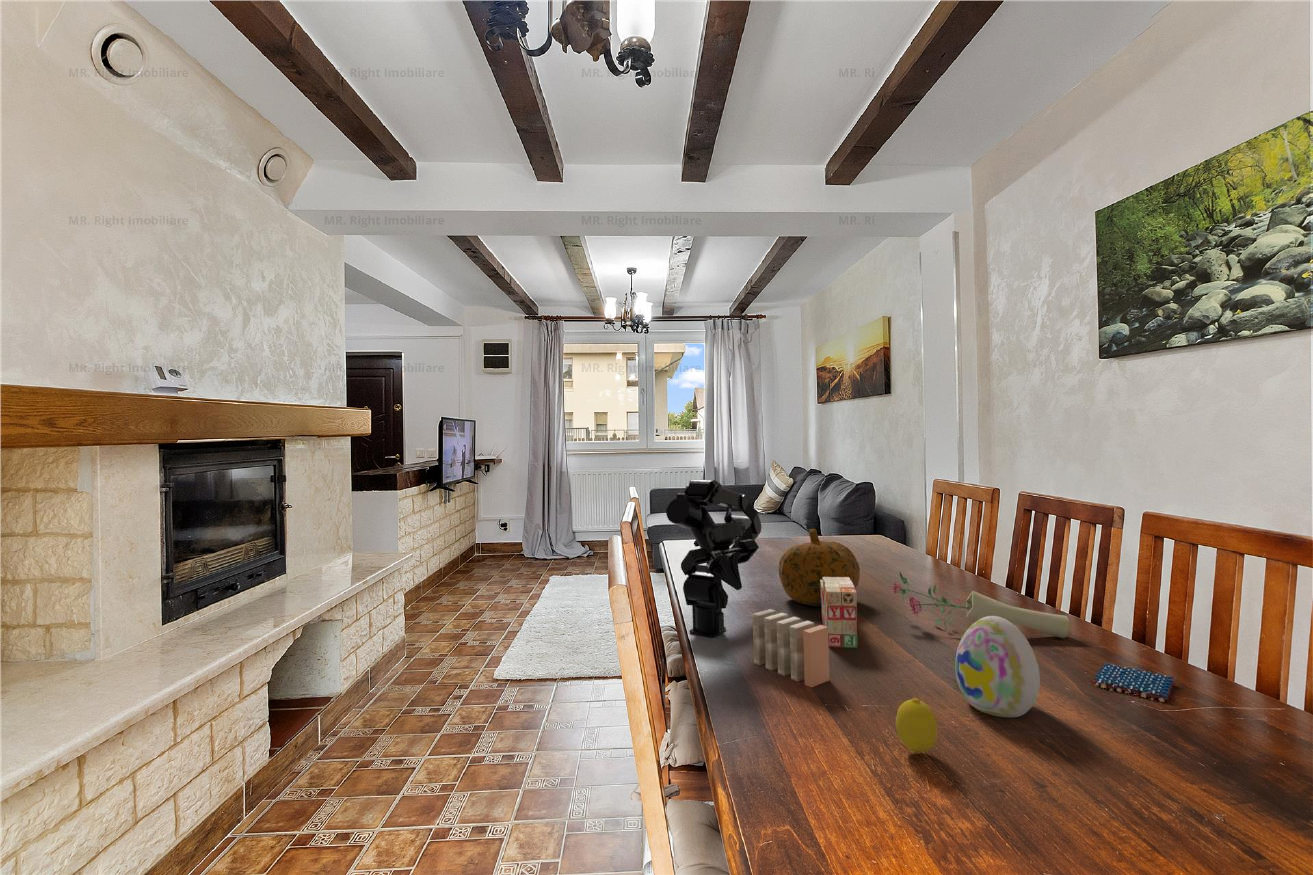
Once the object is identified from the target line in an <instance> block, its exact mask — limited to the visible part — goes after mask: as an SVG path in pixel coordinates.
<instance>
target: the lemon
mask: <svg viewBox="0 0 1313 875" xmlns="http://www.w3.org/2000/svg"><path fill="white" fill-rule="evenodd" d="M895 730H896V733H897V737H898V739H899V740H900V742H901V743H902V744H903V745H904V746H905V747H906V748H908V749H909V750H911V751H912V752H913V753H914V754H916V755H920V754H921V753H924V752H927V751H929V750H930V749H932V748H933V747H934V746H935V744H936V742H937V738H938V731H939V729H938V722H937V719H936V716H935V713H934V711H933V709H932V708H931V707H930V706H929V705H928V704H927V703H926V702H924V701H922V700H920V699H919V698H916V697H913V698H911V699H908V700H906V701H903V702H902V703H901V704H900V705H899V707H898V709H897V713H896V717H895Z"/></svg>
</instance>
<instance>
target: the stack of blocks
mask: <svg viewBox="0 0 1313 875" xmlns="http://www.w3.org/2000/svg"><path fill="white" fill-rule="evenodd" d="M820 592H821V606H820V607H821V608H820V609H821V610H820V611H821V619H822V620H821V621H822V624H823V626H826V627H828V645H829V648H850V649H851V648H852V649H858V629H857V628H858V625H857V624H858V622H857V620H858V607H857V606H858V605H857V604H858V602H857V601H858V597H857V596H858V594H857V593H858V592H857V590H856V588H855V587H854V585H853V583H852V581H851V580H850V578H849V577H823V580H820Z"/></svg>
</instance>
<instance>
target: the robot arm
mask: <svg viewBox="0 0 1313 875" xmlns="http://www.w3.org/2000/svg"><path fill="white" fill-rule="evenodd" d="M688 482H689V483H688V484H687V485H686V486H685V487H684V489H683V491H682V493H680V492H679V493H678V492H677V494H676V497H675V498H674V499H673V500H671V501H670V502H669V503H668V506H667V507H666V509H665V513H666V514H665V515H666V517H667V519H668V521H669V522H671V524H675V525H677V526H679V527H681V528H683V529H687V530H688V529H689V531H690V532H691V534H692V536H693V537H694V541H693V545H694V546H695V547H699V548H695V549H690V550H689V551H688V552H687V553H686V555H685V556H684V557H683V559H682V560H681V562H680V570H681V571H682V573H683V575H684V576H687V577H686V578H685V580H684V582H683V586H682V592H683V596H684V599H685V603H686V606H692V607H691V608H692V610H691V612H692V613H691V614H692V628H691V629H689V633H690V634H693V635H694V634H695V635H699V636H704V637H709V638H714V637H716V636H718V635H719V634H720V633H722V632H725V631H726V630H727V627H726V626H725V616H724V615H725V614H724V611H723V609H727V606H728V602H729V595H728V593H727V591H726V590H725V589H724V585H723V582H724V583H726V584H727V585H728V586H730V587H732V588H733V589H734V590H736V591H739V590H741V589H742V588H743V585H742V580H741V575H740V571H739V570H740V569H739V565H740V564H744V563H745V564H746V563H747V562H749V561H750V560H751V558H752V557H753V555H754V554H755V553H756V552H757V551H758V549H760V547H759V545H758V544H757V541H756V539H758V537H759V535H760V534H761V532H762V523H761V519H760V516H759V512H758V510H756V508H754V506H753V505H752V504H751V503H750V502H749V499H748V496H747V495H746V494H744V493H738V492H735V491H732V490H729V489H726V488H722V486H723V485H722V484H721V483H720V482H719V481H718V480H715V479H690V480H689V481H688ZM716 505H718V506H721V507H725V509H726V512H725V515H724V520H723V521H724V523H722V524H719V525H717V524H716V523H715V521H714V520H713V517H712V516H711V515H710V513H709V511H708V510H707V507H711V506H716ZM732 510H741V512H743V514H744V515H740V514H739V515H737V514H735V515H734V514H732Z"/></svg>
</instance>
